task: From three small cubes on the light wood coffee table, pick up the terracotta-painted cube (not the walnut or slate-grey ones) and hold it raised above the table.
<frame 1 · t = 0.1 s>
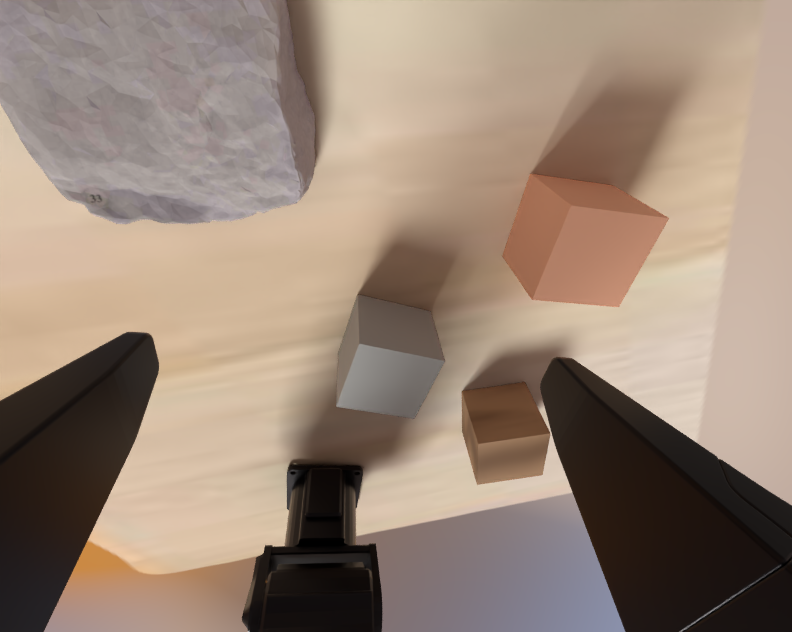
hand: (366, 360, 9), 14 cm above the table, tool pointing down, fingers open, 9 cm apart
slate grey cube: (383, 331, 27), on the table
terracotta cube: (554, 221, 24), on the table
walnut cube: (491, 407, 33), on the table
stone block: (186, 107, 19), on the table
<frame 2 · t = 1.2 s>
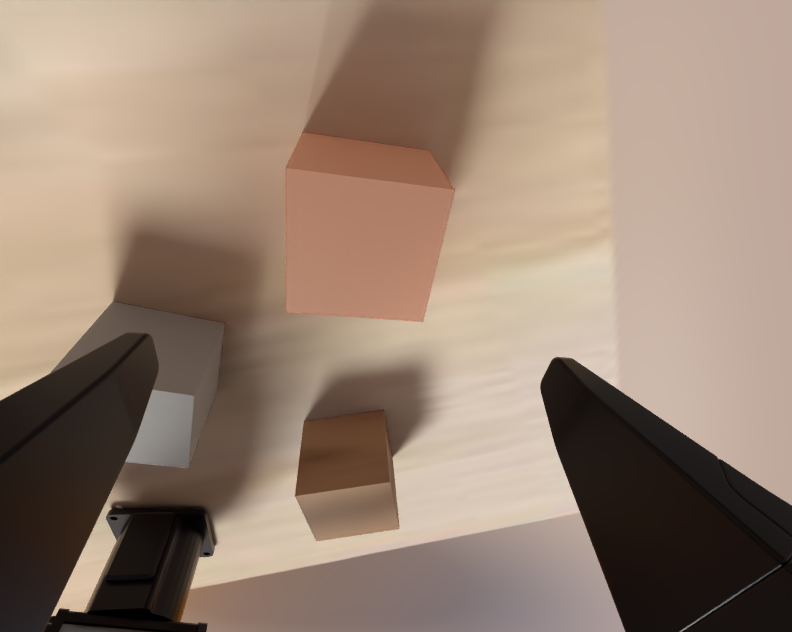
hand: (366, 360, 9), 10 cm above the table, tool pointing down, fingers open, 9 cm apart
slate grey cube: (170, 349, 21), on the table
terracotta cube: (360, 202, 17), on the table
walnut cube: (350, 439, 26), on the table
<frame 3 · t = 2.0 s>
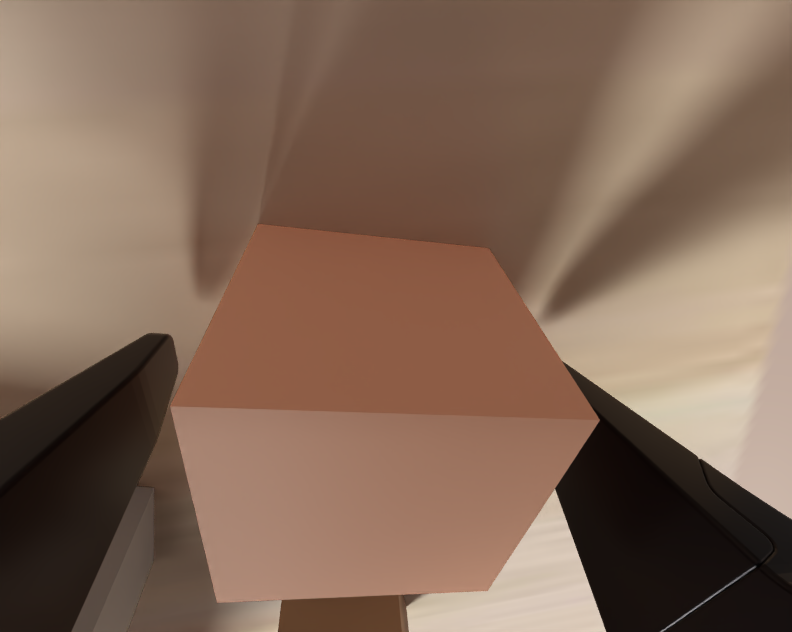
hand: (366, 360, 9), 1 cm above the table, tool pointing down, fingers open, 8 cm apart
slate grey cube: (74, 519, 14), on the table
terracotta cube: (365, 327, 10), on the table
walnut cube: (349, 593, 19), on the table
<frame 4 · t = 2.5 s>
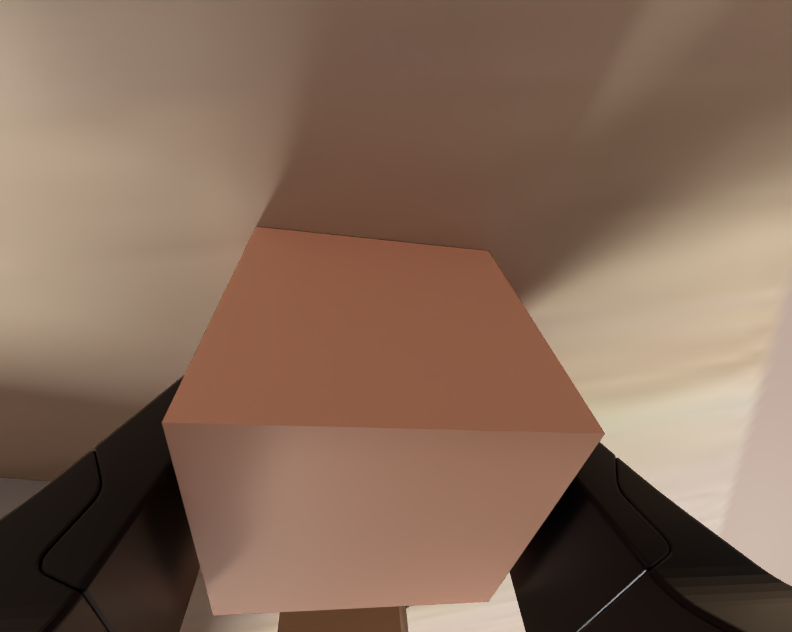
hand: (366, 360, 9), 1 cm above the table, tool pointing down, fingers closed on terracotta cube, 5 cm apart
slate grey cube: (72, 522, 14), on the table
terracotta cube: (365, 332, 10), on the table, touching gripper
walnut cube: (349, 595, 19), on the table
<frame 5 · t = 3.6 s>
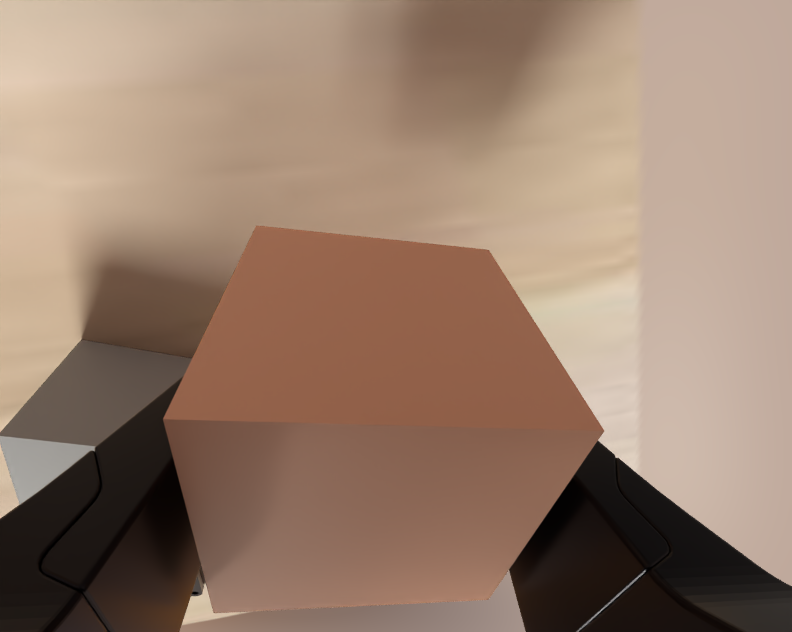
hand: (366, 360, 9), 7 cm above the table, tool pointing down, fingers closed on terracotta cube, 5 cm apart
slate grey cube: (148, 389, 19), on the table
terracotta cube: (365, 330, 10), point 6 cm above the table, touching gripper
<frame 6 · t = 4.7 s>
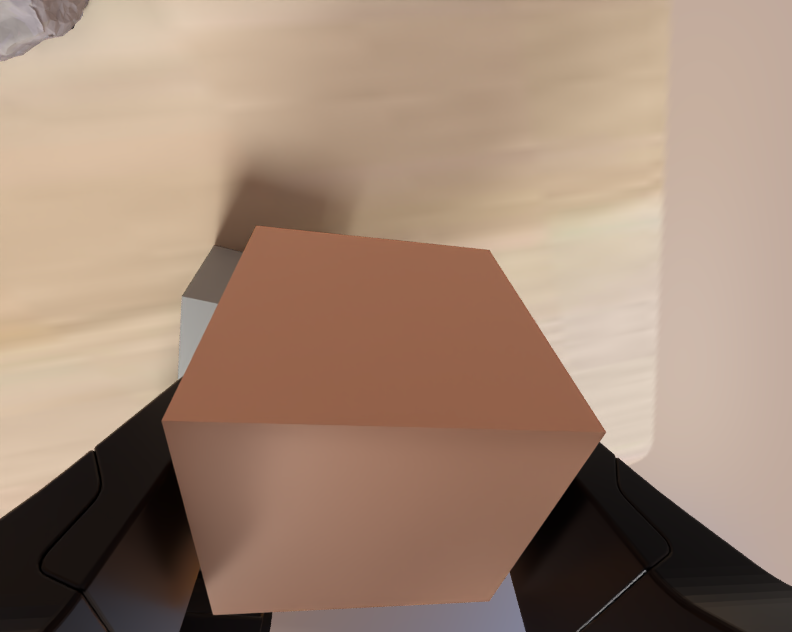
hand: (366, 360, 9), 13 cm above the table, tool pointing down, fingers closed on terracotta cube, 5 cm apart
slate grey cube: (257, 294, 23), on the table
terracotta cube: (365, 331, 10), point 12 cm above the table, touching gripper
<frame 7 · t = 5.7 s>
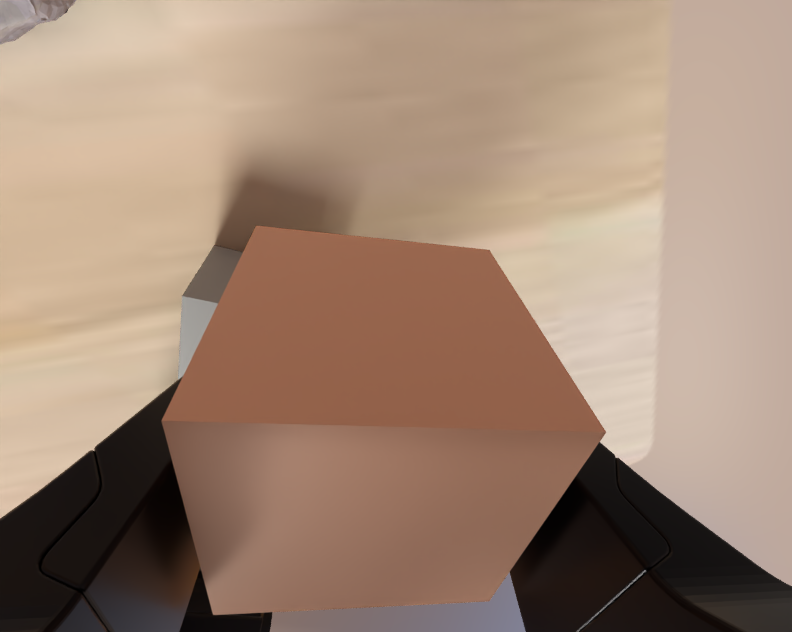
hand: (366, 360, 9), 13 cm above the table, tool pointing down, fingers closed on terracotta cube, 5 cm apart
slate grey cube: (257, 294, 23), on the table
terracotta cube: (365, 331, 10), point 12 cm above the table, touching gripper
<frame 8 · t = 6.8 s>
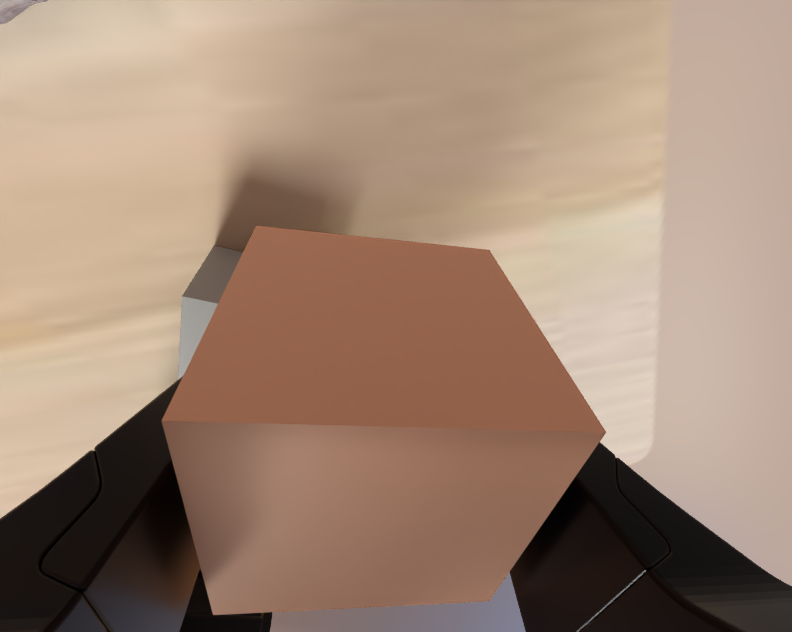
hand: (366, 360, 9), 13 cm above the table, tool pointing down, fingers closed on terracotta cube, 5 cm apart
slate grey cube: (257, 294, 23), on the table
terracotta cube: (365, 331, 10), point 12 cm above the table, touching gripper
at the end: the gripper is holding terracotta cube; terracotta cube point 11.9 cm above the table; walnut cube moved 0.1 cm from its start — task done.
